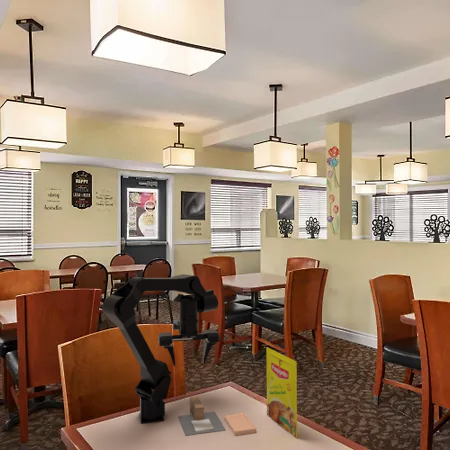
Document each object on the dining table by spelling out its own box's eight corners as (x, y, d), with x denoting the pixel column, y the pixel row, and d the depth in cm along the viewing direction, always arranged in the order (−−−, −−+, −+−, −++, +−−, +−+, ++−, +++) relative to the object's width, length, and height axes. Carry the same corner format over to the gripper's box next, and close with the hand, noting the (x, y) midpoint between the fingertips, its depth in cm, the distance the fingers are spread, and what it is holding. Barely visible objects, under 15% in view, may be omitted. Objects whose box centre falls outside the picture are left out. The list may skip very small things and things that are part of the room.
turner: (185, 411, 127) (185, 397, 127) (202, 409, 128) (202, 396, 128) (195, 433, 113) (195, 417, 113) (214, 430, 115) (213, 415, 115)
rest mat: (185, 436, 112) (185, 435, 112) (178, 417, 124) (178, 416, 124) (225, 430, 115) (225, 429, 115) (214, 412, 127) (214, 411, 127)
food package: (265, 415, 124) (264, 347, 125) (268, 414, 125) (268, 346, 125) (295, 439, 110) (294, 361, 111) (298, 438, 111) (298, 361, 111)
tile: (224, 421, 122) (234, 438, 112) (224, 415, 122) (234, 431, 112) (243, 418, 123) (256, 434, 114) (243, 413, 123) (256, 428, 114)
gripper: (213, 308, 143) (213, 355, 143) (156, 311, 139) (157, 359, 139) (219, 315, 132) (220, 365, 132) (159, 318, 128) (159, 370, 128)
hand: (189, 364), depth 133 cm, fingers open, 9 cm apart
